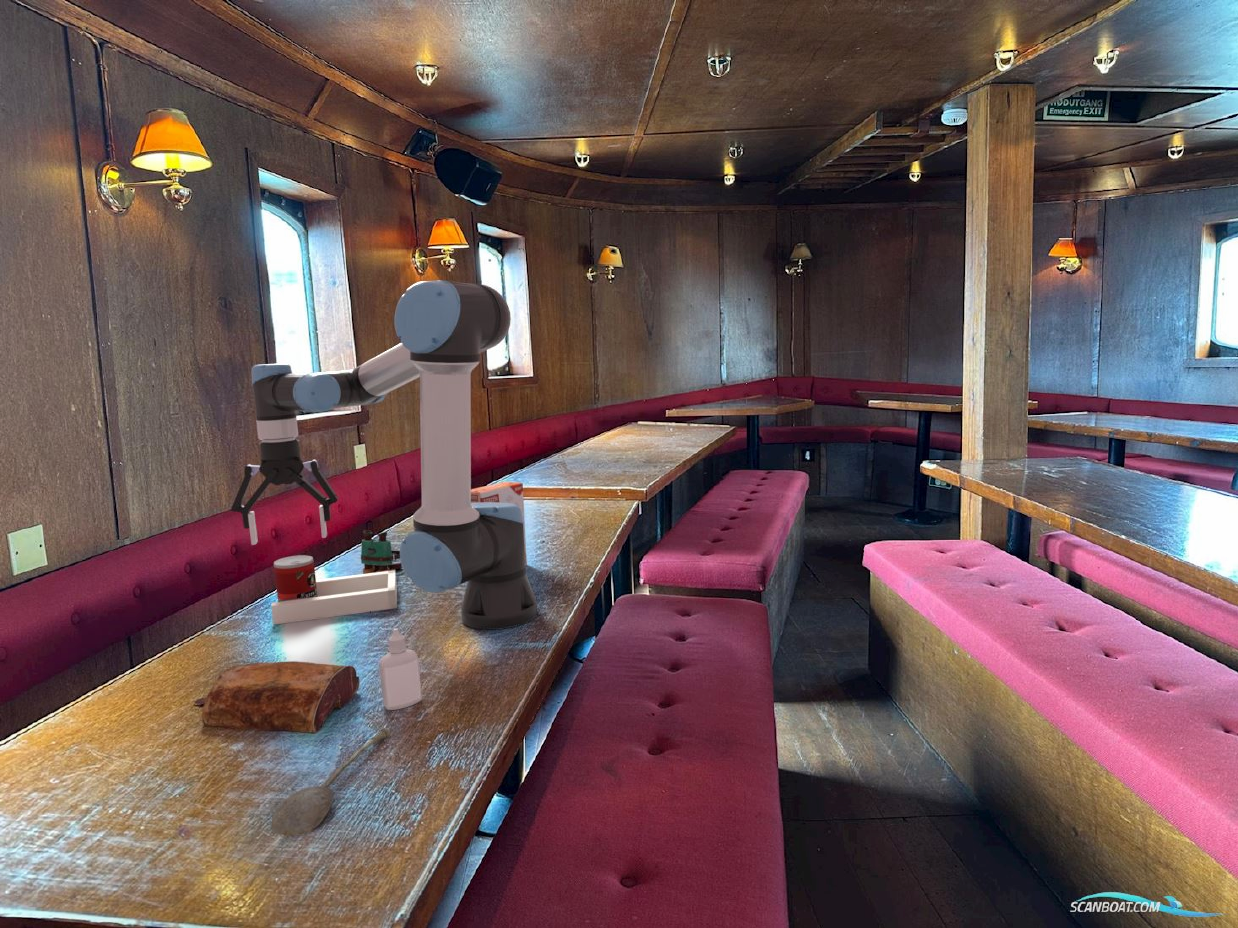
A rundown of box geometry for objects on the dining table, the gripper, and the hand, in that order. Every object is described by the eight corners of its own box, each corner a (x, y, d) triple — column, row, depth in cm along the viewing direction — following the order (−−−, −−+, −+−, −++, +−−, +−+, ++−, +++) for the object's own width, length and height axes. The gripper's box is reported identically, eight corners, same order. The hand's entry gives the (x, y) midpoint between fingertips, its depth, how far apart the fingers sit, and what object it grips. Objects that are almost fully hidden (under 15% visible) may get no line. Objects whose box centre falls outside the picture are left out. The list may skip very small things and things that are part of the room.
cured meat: (236, 675, 127) (230, 638, 126) (373, 678, 123) (369, 640, 122) (157, 732, 109) (150, 689, 108) (315, 738, 106) (309, 694, 105)
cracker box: (487, 580, 172) (480, 492, 169) (469, 576, 176) (462, 490, 173) (529, 565, 183) (523, 481, 180) (511, 561, 187) (506, 480, 184)
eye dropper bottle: (418, 709, 112) (411, 633, 110) (380, 711, 111) (373, 635, 109) (424, 695, 116) (417, 622, 114) (387, 698, 116) (380, 624, 114)
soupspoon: (259, 841, 84) (309, 850, 83) (255, 815, 84) (306, 824, 82) (366, 735, 105) (408, 740, 104) (364, 713, 105) (406, 719, 103)
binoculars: (409, 527, 187) (383, 533, 177) (410, 569, 187) (384, 577, 178) (381, 525, 190) (353, 531, 181) (382, 566, 191) (354, 574, 181)
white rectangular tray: (396, 607, 157) (395, 589, 156) (273, 624, 150) (270, 605, 149) (396, 586, 171) (395, 570, 170) (284, 601, 164) (282, 583, 164)
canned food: (305, 617, 154) (299, 565, 152) (271, 615, 155) (264, 565, 154) (326, 604, 161) (321, 555, 159) (293, 603, 163) (288, 554, 161)
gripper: (344, 433, 159) (353, 529, 163) (215, 441, 153) (228, 541, 156) (342, 437, 152) (351, 537, 156) (207, 446, 145) (220, 550, 149)
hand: (290, 539), depth 156 cm, fingers open, 13 cm apart
